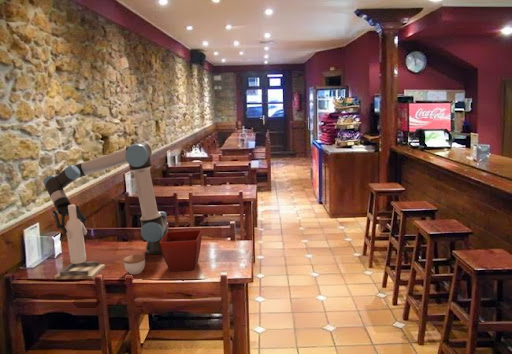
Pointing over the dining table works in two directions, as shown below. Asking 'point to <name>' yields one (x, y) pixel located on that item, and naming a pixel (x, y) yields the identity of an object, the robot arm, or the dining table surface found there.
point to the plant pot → (181, 249)
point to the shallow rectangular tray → (80, 270)
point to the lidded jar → (134, 263)
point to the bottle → (75, 237)
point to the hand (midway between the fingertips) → (78, 235)
